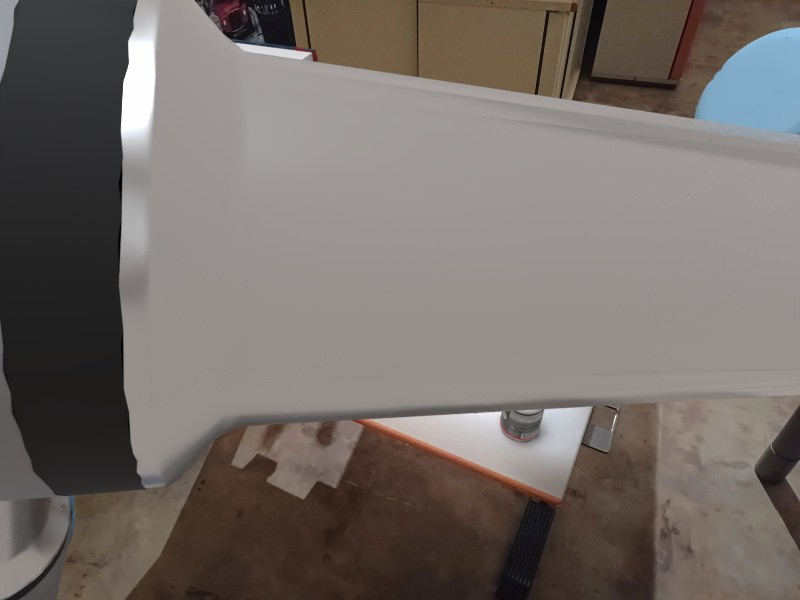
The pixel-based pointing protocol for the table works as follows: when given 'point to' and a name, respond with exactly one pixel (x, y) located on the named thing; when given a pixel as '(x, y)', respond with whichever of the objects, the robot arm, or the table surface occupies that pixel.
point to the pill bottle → (521, 423)
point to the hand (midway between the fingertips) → (546, 337)
